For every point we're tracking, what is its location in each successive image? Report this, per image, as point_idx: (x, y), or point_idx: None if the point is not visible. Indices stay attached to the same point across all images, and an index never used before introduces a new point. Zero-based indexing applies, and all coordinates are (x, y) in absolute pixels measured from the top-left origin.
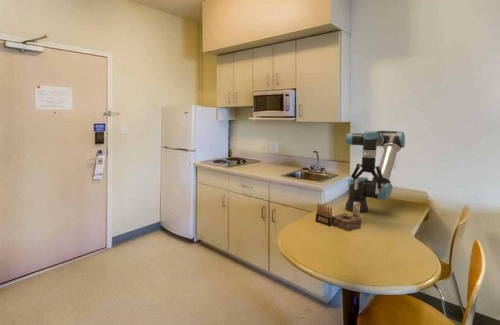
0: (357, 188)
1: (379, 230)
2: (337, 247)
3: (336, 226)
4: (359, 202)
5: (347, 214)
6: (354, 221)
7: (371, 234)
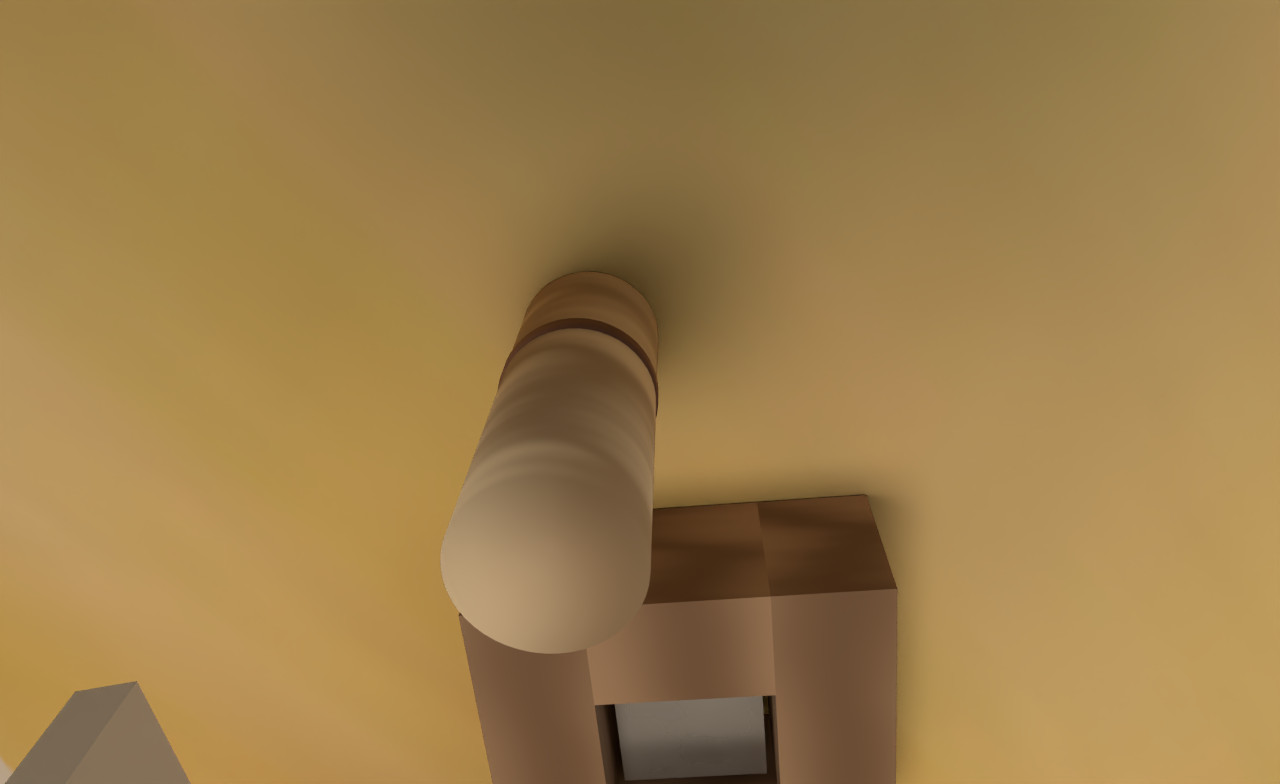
0: (124, 720)
1: (1170, 319)
2: None
3: None
4: (550, 485)
5: None
6: (892, 752)
7: (1181, 591)
